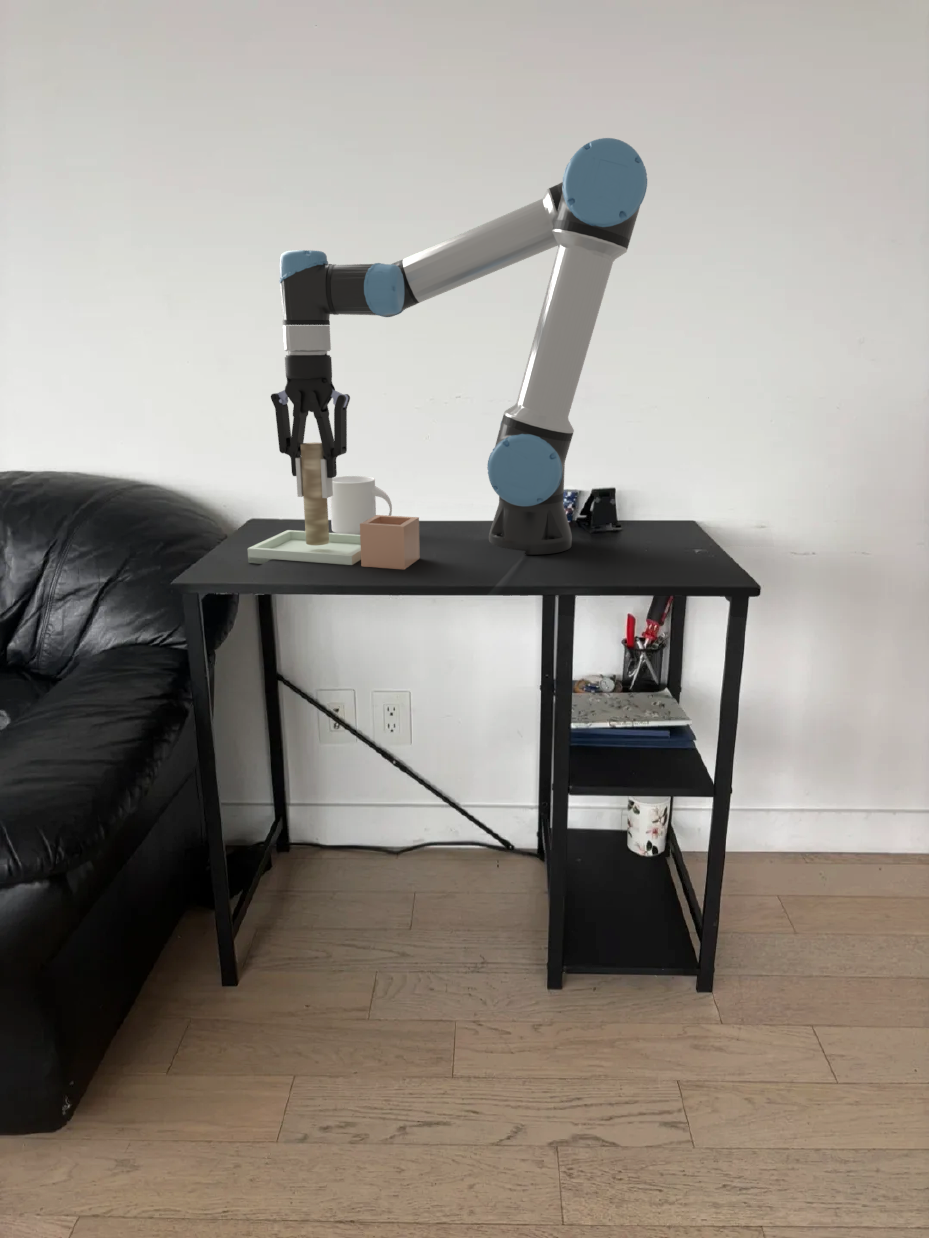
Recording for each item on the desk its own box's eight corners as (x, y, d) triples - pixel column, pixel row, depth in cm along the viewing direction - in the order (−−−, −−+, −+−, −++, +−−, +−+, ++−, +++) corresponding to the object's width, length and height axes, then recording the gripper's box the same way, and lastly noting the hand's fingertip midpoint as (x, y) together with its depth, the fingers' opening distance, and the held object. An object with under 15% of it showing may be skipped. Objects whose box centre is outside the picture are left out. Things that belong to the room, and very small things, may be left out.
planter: (419, 563, 148) (418, 517, 146) (404, 575, 141) (403, 526, 139) (378, 560, 150) (376, 514, 148) (361, 571, 143) (359, 523, 141)
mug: (385, 541, 164) (384, 484, 161) (325, 538, 167) (322, 482, 164) (398, 531, 172) (397, 477, 169) (341, 528, 175) (338, 475, 171)
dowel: (333, 540, 154) (328, 443, 149) (323, 546, 150) (318, 445, 145) (312, 539, 155) (306, 442, 150) (302, 544, 151) (296, 445, 146)
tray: (384, 549, 158) (384, 536, 157) (352, 570, 144) (351, 556, 143) (288, 543, 163) (287, 530, 162) (248, 562, 149) (247, 548, 148)
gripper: (365, 353, 144) (369, 494, 151) (271, 352, 148) (280, 490, 156) (347, 354, 137) (352, 502, 144) (249, 353, 142) (260, 497, 149)
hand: (315, 495), depth 150 cm, fingers closed on dowel, 4 cm apart
